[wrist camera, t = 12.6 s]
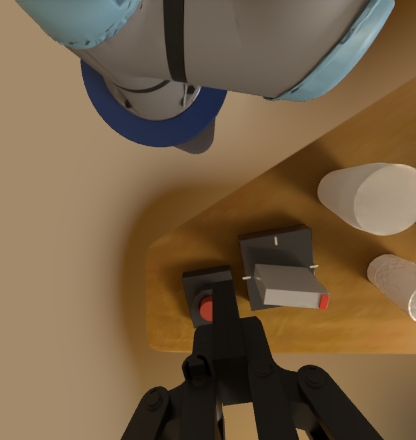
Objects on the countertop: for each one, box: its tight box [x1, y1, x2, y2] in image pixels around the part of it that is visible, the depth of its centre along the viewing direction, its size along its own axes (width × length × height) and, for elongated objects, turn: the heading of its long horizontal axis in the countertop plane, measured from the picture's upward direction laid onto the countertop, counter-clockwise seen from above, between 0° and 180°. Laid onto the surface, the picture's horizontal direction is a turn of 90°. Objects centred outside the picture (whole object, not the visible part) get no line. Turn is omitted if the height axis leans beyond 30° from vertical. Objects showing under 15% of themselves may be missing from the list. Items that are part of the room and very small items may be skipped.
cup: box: [317, 163, 416, 236], centre depth 32 cm, size 9×9×12 cm
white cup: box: [367, 254, 416, 321], centre depth 37 cm, size 8×8×10 cm
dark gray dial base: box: [238, 224, 318, 311], centre depth 40 cm, size 14×13×3 cm
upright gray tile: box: [254, 264, 330, 309], centre depth 35 cm, size 9×2×8 cm, turn 86°
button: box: [200, 296, 212, 321], centre depth 39 cm, size 4×4×2 cm
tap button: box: [182, 265, 232, 328], centre depth 42 cm, size 11×9×4 cm
